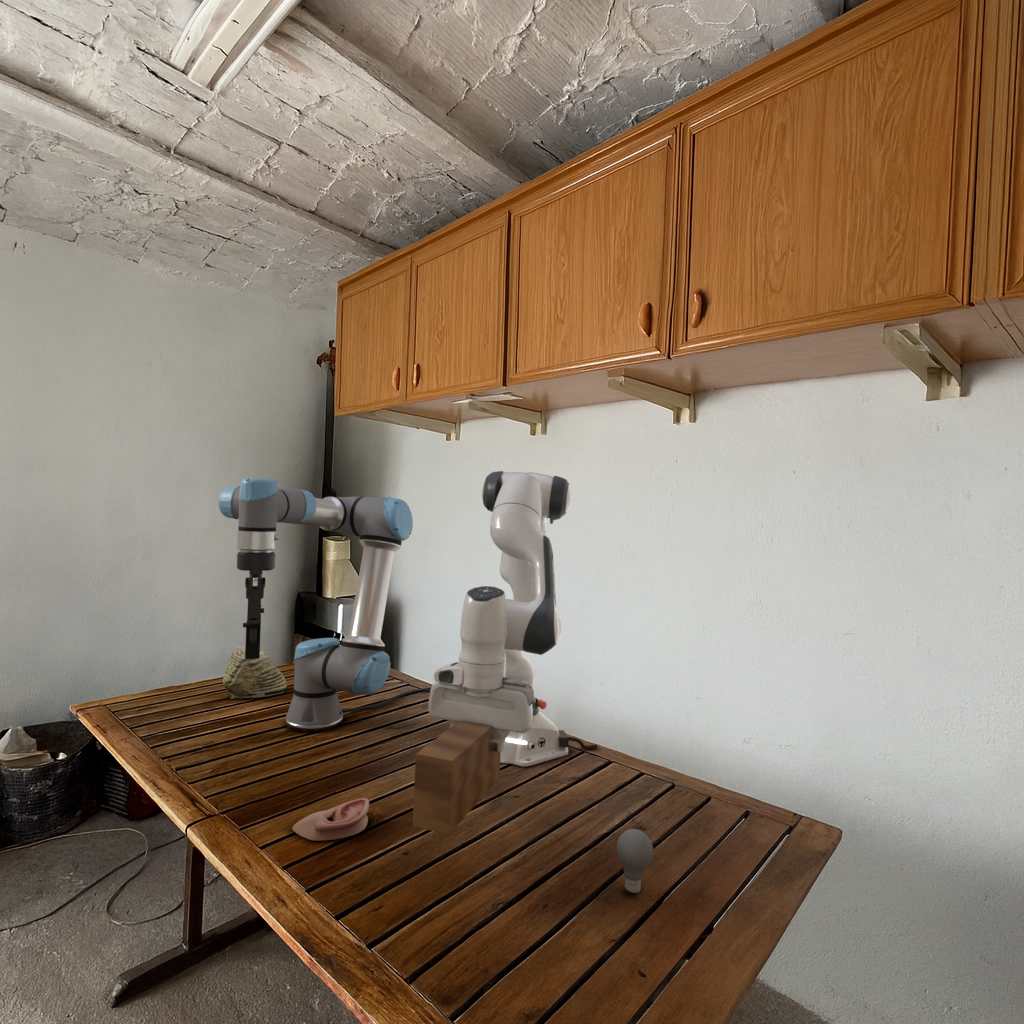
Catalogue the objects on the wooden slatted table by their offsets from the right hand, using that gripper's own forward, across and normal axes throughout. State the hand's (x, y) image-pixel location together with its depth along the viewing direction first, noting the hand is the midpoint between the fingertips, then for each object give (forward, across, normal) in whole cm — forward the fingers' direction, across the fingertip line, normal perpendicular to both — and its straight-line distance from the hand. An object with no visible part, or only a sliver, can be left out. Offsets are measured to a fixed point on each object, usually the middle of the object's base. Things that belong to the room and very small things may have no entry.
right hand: (478, 747), depth 119 cm
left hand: (-12, +52, +2) cm, 53 cm away
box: (+7, 0, +8) cm, 10 cm away
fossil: (+18, +96, -49) cm, 109 cm away
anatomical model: (+18, +27, +7) cm, 33 cm away
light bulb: (+18, -30, +4) cm, 35 cm away
